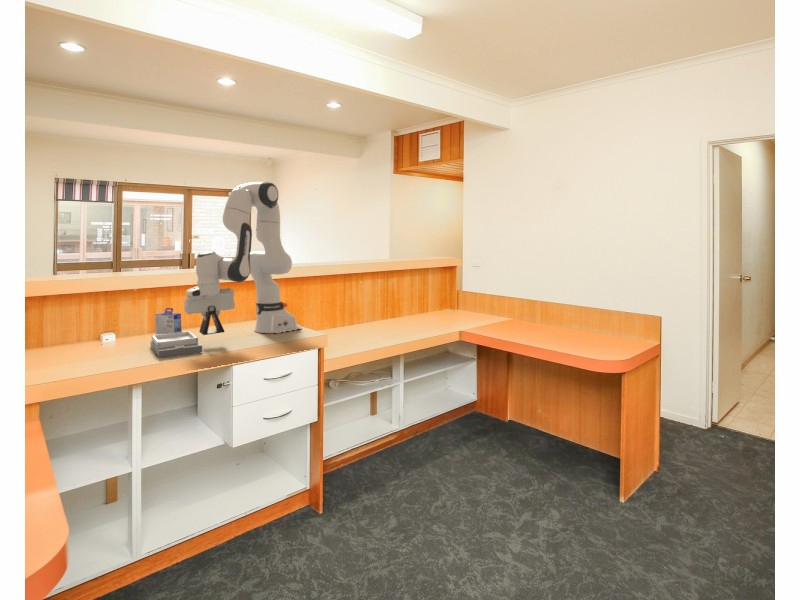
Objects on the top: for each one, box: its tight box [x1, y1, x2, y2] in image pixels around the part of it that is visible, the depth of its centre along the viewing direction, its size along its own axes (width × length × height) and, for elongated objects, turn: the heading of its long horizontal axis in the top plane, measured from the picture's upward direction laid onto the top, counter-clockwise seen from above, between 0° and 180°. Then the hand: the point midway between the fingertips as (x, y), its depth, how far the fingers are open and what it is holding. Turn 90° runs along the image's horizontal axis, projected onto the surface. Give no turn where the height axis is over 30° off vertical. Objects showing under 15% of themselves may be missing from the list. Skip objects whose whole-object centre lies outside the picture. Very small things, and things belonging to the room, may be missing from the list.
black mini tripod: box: [199, 306, 225, 336], centre depth 211 cm, size 9×6×12 cm, turn 125°
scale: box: [150, 330, 203, 359], centre depth 203 cm, size 16×20×5 cm
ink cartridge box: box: [154, 307, 183, 335], centre depth 220 cm, size 10×6×14 cm, turn 79°
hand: (211, 321), depth 211 cm, fingers closed on black mini tripod, 2 cm apart
